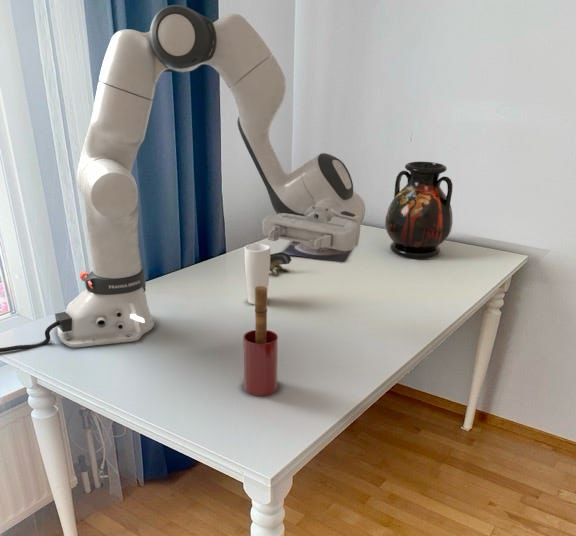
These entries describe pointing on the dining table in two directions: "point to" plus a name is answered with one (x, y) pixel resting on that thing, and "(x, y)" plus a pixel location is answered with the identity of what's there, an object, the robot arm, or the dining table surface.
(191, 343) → the dining table surface
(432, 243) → the amphora vase
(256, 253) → the drinking glass
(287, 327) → the dining table surface
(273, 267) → the eagle figurine
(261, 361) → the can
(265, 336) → the tan rod with ring
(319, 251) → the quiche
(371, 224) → the dining table surface
